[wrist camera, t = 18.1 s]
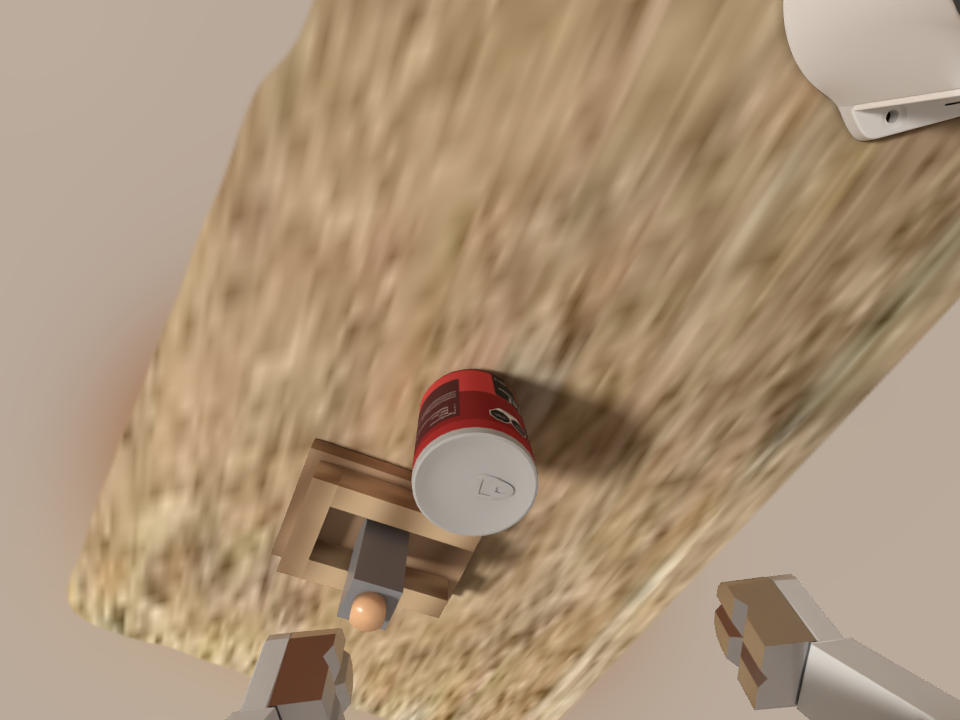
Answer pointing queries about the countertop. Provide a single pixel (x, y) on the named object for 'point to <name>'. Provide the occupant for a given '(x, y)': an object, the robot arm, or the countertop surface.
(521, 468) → the canned food
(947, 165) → the countertop surface
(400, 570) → the block with orange ball
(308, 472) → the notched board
